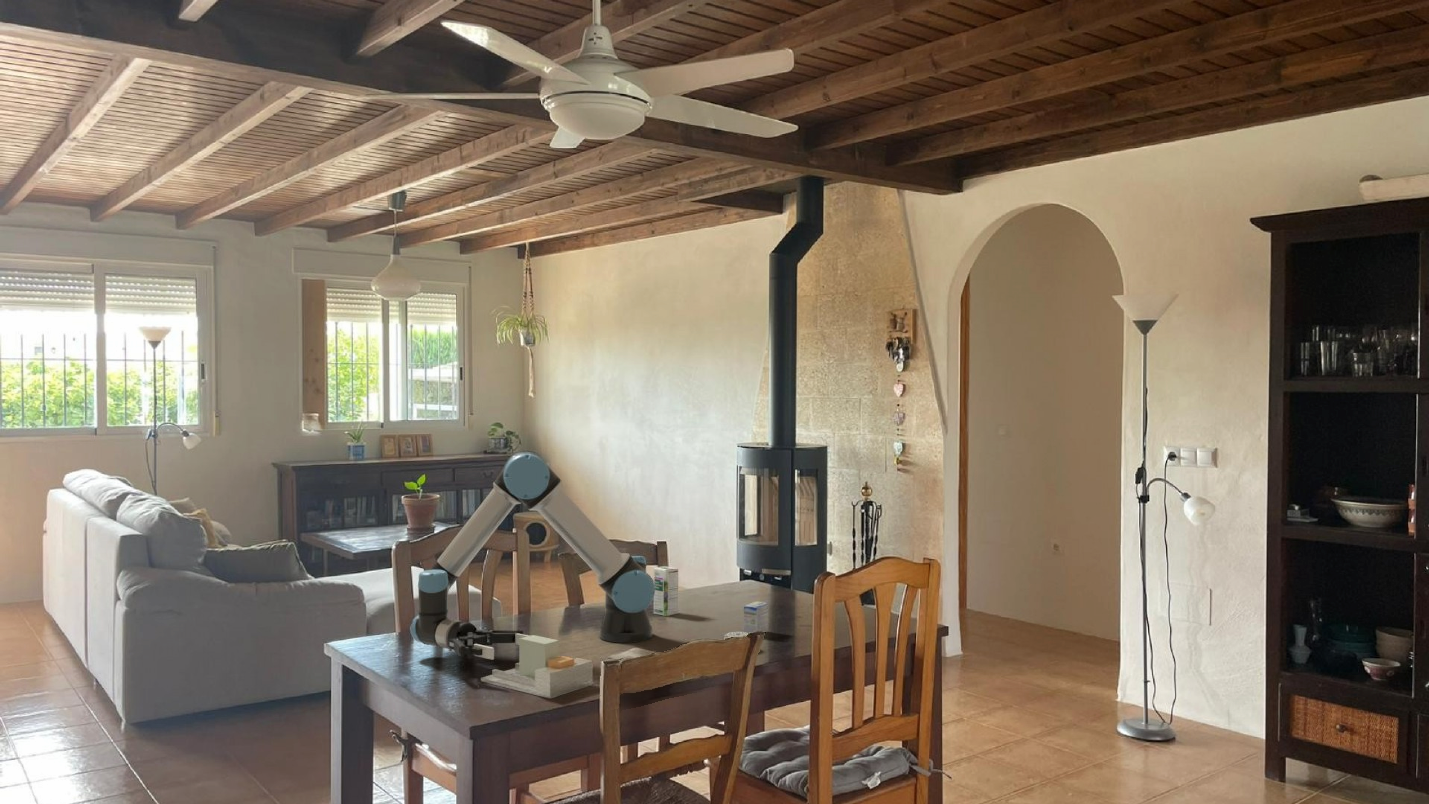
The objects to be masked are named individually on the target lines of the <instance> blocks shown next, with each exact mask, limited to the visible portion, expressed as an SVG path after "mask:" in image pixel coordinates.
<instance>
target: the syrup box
mask: <svg viewBox="0 0 1429 804" xmlns="http://www.w3.org/2000/svg"><path fill="white" fill-rule="evenodd" d="M653 581H654V586H655V594H654V598H653V614H654V615H658V616H659V615H660V616H662V617H663V616H664V617H669V616H672V615H676V614H679V568H678V567H677V568H676V567H670V566H658V567H654V569H653Z"/></svg>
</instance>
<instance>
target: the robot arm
mask: <svg viewBox="0 0 1429 804" xmlns="http://www.w3.org/2000/svg"><path fill="white" fill-rule="evenodd" d="M562 483H563V482H562V480H561V479H560V477H559V476H558V475H557V474H556V473H555V472H554V470H552V469H551V468H550V466H549V465H548V464H547V463H546V461H545V460H544V459H543V458H542V457H541V455H539V454H538V453H536V452H534V451H531V450H520V451H518V452H515V453H513V454H512V455H511V456H510V457H508V459H507V460H506V461H505V464H504V466H503V468H502V470H501V471H500V472H499V475H498V476H497V477H496V478H495V480H494V481H493V483H492V485H493V488H492V489H491V491H490V492H489V493H488V494H487V496H485V497H486V498H484V500H483V501H482V502H481V504H480V505H479V506H478V508H477V509H476V510H475V511H474V513H473V514H472V515H471V517H470V518H469V519H468V520H467V522H466V523H465V524H464V525H463V527H462V528H461V529H460V530H459V532H458V533H457V534H456V536H455V537H454V538H453V539H452V541H451V542H450V543H449V545H448V546H447V547H446V548H445V550H444V551H443V552H442V553H441V555H440V556H439V557H438V558H437V560H436V561H435V563H434V564H433V565H432V566H431V568H430V569H426V570H423V571H420V572H419V573H418V583H417V587H418V615H416V616H415V617H414V618H413V619H412V621H411V624H410V627H409V632H410V635H411V637H412V638H413V640H414V641H415V642H418V643H419V642H420V643H422V644H424V645H427V646H433V647H437V648H438V647H439V648H441V649H447V650H448V652H452V651H454V652H455V653H456V654H457V655H458V656H459V657H462V658H463V657H466V655H467V659H469V660H471V659H473V658H474V657H473V656H475V657H479V658H483V659H487V660H494V659H495V647H492V645H493V644H515V645H517V646H519V638H523V637H527V636H529V635H528V634H524V631H523V630H521V629H517V630H511V629H510V630H507V629H492V628H488V629H487V630H482V629H481V630H480V629H477V627H476V626H475V624H473V623H471V622H466V621H462V620H458V619H452V618H449V607H448V606H449V591H450V589H451V588H452V587H453V585H454V584H455V583H456V582H457V580H458V579H459V577H461V574H462V573H463V572H464V571H465V569H466V568H467V567H468V566H469V564H470V563H471V562H472V561H473V559H474V558H475V557H476V556H477V554H479V551H480V550H481V549H482V548H483V546H484V545H485V544H486V543H487V542H488V540H489V539H490V537H491V536H492V535H493V534H494V533H495V531H496V530H497V529H498V527H499V526H500V525H501V524H502V523H503V521H504V520H505V518H506V517H507V516H508V515H509V514H510V513H511V511H512V510H513V509H514V507H515V506H516V505H520V504H522V505H524V506H525V507H526V509H527V510H528V511H536V512H538V513H539V514H540V515H541V516H542V517H543V518H544V520H546V521H547V522H548V524H549V525H550V526H551V527H552V528H553V529H554V530H555V532H557V534H559V536H560V537H561V538H562V539H563V540H564V541H565V542H566V543H567V544H568V545H569V546H570V547H571V549H573V550H574V552H576V554H577V555H578V556H579V557H580V558H581V559H582V560H583V562H585V563H586V564H587V566H589V568H590V569H591V570H592V571H593V572H594V573H595V574H596V578H597V579H596V580H597V581H596V583H597V584H598V586H599V587H600V588H601V589H602V590H603V591H604V594H605V596H604V597H605V601H604V602H605V609H604V613H603V617H602V619H601V624H600V625H601V626H600V627H599V630H598V631H599V634H598V637H599V639H601V640H602V641H603V640H604V641H606V642H613V643H637V642H642V641H646V640H649V639H650V638H652V637H653V626H652V625H651V621H650V618H649V615H648V610H647V608H648V607H649V606H650V605H651V603H652V602H653V601H654V594H655V586H654V578H653V577H651V576H650V574H648V573H647V560H646V558H645V556H643V555H631V554H630V553H629V552H627V553H626V552H625V553H622V552H620V551H619V549H618V548H617V547H616V546H615V545H614V544H613V543H612V542H611V540H609V539H608V537H606V535H604V533H602V531H601V530H600V529H599V528H598V526H596V524H594V523H593V522H592V520H591V519H590V518H589V517H588V516H587V515H586V513H584V511H582V509H581V508H580V507H579V506H578V505H577V503H575V502H574V501H573V500H572V499H571V498H570V497H569V495H568V494H567V493H566V492H565V491H564V490H563V489H562ZM488 640H489V641H488Z"/></svg>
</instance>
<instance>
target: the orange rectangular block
mask: <svg viewBox="0 0 1429 804" xmlns="http://www.w3.org/2000/svg"><path fill="white" fill-rule="evenodd" d="M572 665H574V658H572V657H567V656H564V655H561V656H559V657H557V658H554V659H550V660H548V667H552V668H556V669H562V668H565V667H568V666H572Z"/></svg>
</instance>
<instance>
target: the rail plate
mask: <svg viewBox="0 0 1429 804" xmlns="http://www.w3.org/2000/svg"><path fill="white" fill-rule="evenodd" d="M514 665H515V666H514V668H511V669H510V668H509V669H508V670H500V669H497V668H496V669H492V670H491V674H490V675H486V676H483V677H480V682H483V683H486V684H490V685H495V686H498V687H502V688H506V689H510V690H514V691H517V692H522V693H526V694H530V695H533V696H534V695H535V696H538V697H541V698H545V699H549V700H551V699H553V698H557V697H561V696H563V695H566V694H569V693H572V692H575V691H578V690H582V689H584V688H588V687H591V686H593V685H594V684H593V660H589V659H586V658H582V657H581V658H580V657H575V658H574V665H572V666H568V667H565V668H562V669H556V668H552V667H548V666H547V667H544V668H541V669H537V670H535V679H534V678H530V677H526V676H522V675H519V662H517V663H515V664H514Z"/></svg>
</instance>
